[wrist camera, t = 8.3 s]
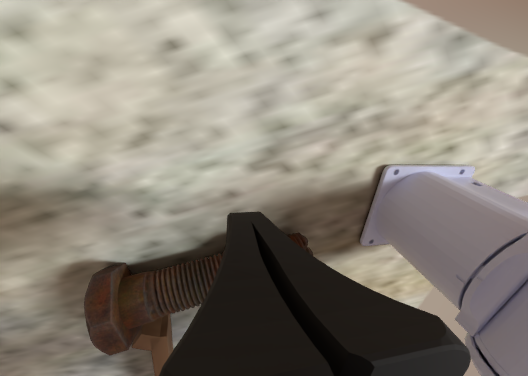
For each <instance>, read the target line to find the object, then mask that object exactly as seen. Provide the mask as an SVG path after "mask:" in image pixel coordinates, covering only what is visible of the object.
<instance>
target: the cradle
mask: <svg viewBox="0 0 528 376" xmlns="http://www.w3.org/2000/svg"><path fill="white" fill-rule="evenodd" d="M132 348H136V349H143V350H150V351H151V352H152V359H153V365H154V372H155V376H159V374H160V372H161V369H162V367H163V365H164V363H165V362H166V361H167V359H168V358H169V356H170V355H171V353H172V352H173V342H172V331H171V319H170V314H169V315H165V316H164V317H160V318H158V319H157V320H156V321H153V322H150V323H147V324H143V325H141V329H140V331H139V332H138V334H137V336H136V337H135V339H134V341H133V344H132Z"/></svg>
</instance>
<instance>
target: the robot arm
mask: <svg viewBox="0 0 528 376" xmlns="http://www.w3.org/2000/svg"><path fill="white" fill-rule="evenodd" d="M395 170H396V171H395ZM394 171H395V172H394ZM474 171H475V168H474V167H473V166H470V165H388V166H386V167H385V168H384V170H383V173H382V176H381V179H380V182H379V185H378V188H377V191H376V194H375V197H374V200H373V203H372V206H371V209H370V212H369V215H368V218H367V221H366V224H365V227H364V230H363V233H362V236H361V239H360V243H361V244H362V245H363V246H372V245H382V244H391V245H392V246H393V247H394V248H395V249H396V250H397V251H398V252H399V253H400V254H401V255H402V256H403V257H404V258H405V259H406V260H407V261H408V262H410V263H411V264H412V265H413V266H414V267H415V268H416V269H417V270H418V271H419V272H420V273H421V274H422V275H423V276H424V277H425V278H426V279H427V280H428V281H430V282H431V283H432V284H433V285H434V286H435V287H436V288H437V289H438V290H439V291H440V292H441V293H442V294H443V295H444V296H445V297H446V298H447V299H448V300H449V301H451V302H452V303H453V304H454V305H455V306H456V307H457V308H458V309H459V310H460V312H459V314H458V315H457V317H456V318H455V320H456V321H457V322H458V323H459V324H460V325H461V326H462V327H463V328H464V329H465V330H466V331H467V332H468V333H467V335H466V337H465V344H466V346H465V345H464V344H463V343H462V342H461V340H460V339H459V338H458V337H457V336H456V335H455V334H454V333H453V332H452V331H451V330H450V329H449V328H448V327H447V325H446V324H445V323H444V322H443V321H442V320H441V319H440V318H439V317H438V316H436V315H433V314H430V313H428V312H425V311H422V310H419V309H417V308H414V307H412V306H409V305H406V304H404V303H401V302H398V301H396V300H393V299H391V298H389V297H387V296H384V295H382V294H380V293H378V292H375V291H373V290H371V289H369V288H367V287H365V286H363V285H361V284H359V283H357V282H355V281H353V280H351V279H349V278H348V277H346V276H344V275H342V274H340V273H339V272H337V271H335V270H333V269H332V268H330V267H329V266H327V265H326V264H324V263H322V262H321V261H319V260H318V259H316V258H315V257H313V256H312V255H310V254H309V253H308V252H306V251H305V250H304V249H303V248H301V247H300V246H299V245H297V244H296V243H295V242H294V241H292V240H291V239H290V238H289V237H288V236H286V235H285V234H284V233H283V232H282V231H281V230H280V229H278V228H277V227H276V226H275V225H274V224H273V223H272V222H271V221H270V220H269V219H268V218H266V217H265V216H264V215H263V214H262V213H261V212H244V213H230V214H229V215H228V216H227V237H226V246H225V250H224V253H223V257H222V260H221V263H220V266H219V268H218V271H217V273H216V276H215V278H214V281H213V283H212V285H211V287H210V289H209V291H208V293H207V296H206V297H205V299H204V301H203V303H202V305H201V307H200V309H199V310H198V312H197V314H196V316H195V317H194V319H193V321H192V322H191V324H190V326H189V328H188V329H187V331H186V332H185V334H184V336H183V337H182V339H181V340H180V341H179V343H178V344H177V346H176V347H175V349H174V350H173V352H172V353H171V355H170V356H169V358H168V359H167V361H166V362H165V363H164V365H163V367H162V369H161V372H160V374H159V376H463V375H464V374H465V372H466V370H467V369H468V367H469V364H470V360H471V359H472V361H473V363H474V365H475V367H476V368H477V370H478V372H479V374H480V375H481V376H528V203H527V202H525V201H523V200H520V199H518V198H516V197H514V196H511V195H509V194H507V193H504V192H502V191H500V190H498V189H495V188H493V187H491V186H489V185H486V184H484V183H482V182H479V181H477V180H475V179H473V178H471V177H472V175H473V173H474Z"/></svg>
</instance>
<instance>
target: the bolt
mask: <svg viewBox="0 0 528 376" xmlns="http://www.w3.org/2000/svg"><path fill="white" fill-rule="evenodd" d="M288 237H289V238H290V239H291V240H292V241H294V242H295V243H296V244H297V245H299V246H300V247H301V248H303V249H304V250H305V251H306V252H308V253H309V254H310V255H312V256H313V252H312V251H311V249H310V248H307V245H308V240H307V238H306V237H305V236H303V235H301V234H300V233H296V234H294V233H293V234H292V235H291V234H289V235H288ZM223 253H224V252H223ZM223 253H222V255H221V254H219V253H218V256H216V255H215V254H214V256H213V257H212V256H210V257H209V259H208V258H207V257H205V259H204V260H203V259H202V258H200V261H199V260H198V259H196V261H195V262H194V261H193V260H192V261H191V263H189V262H186V265H185V264H184V263H182V264H181V266H180V265H179V264H178V265H177V266H174V265H173V266H172V268H171V267H167V269H166V268H163V269H162V270H161V269H159V270H157V271H146V272H142V273H138V274H135V275H131V272H130V270H129V268H128V266H127V264H126V263H123V264H119V265H115V266H111V267H107V268H105V269H103V270H101V271H99V272H97V273H95V274H94V275H93V276H92V279H91V281H90V283H89V286H88V289H87V292H86V295H85V301H84V309H85V317H86V324H87V328H88V332H89V335H90V339H91V341H92V343H93V344H94V346H95V347H96V348H98V349H99V350H100V351H102V352H104V353H106V354H108V355H113V354H116V353H119V352H123V351H126V350H128V349H129V348H130V346H131V344H132V342H133V341H134V339H135V337H136V336H137V334H138V332H139V331H140V329H141V325H143V324H147V323H150V322H153V321H156V320H157V319H158V318H160V317H164V316H165V315H169V314H171V313H175V312H176V311H177V312H179V311H180V310H182V311H184V310H185V308H186V309H189V308H190V307H191V308H194V306H195V305H196V306H199V304H200V303H201V305H202V303H203V301H204V299H205V297H206V296H207V293H208V291H209V289H210V287H211V285H212V283H213V281H214V278H215V276H216V273H217V271H218V268H219V266H220V263H221V260H222V257H223Z"/></svg>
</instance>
